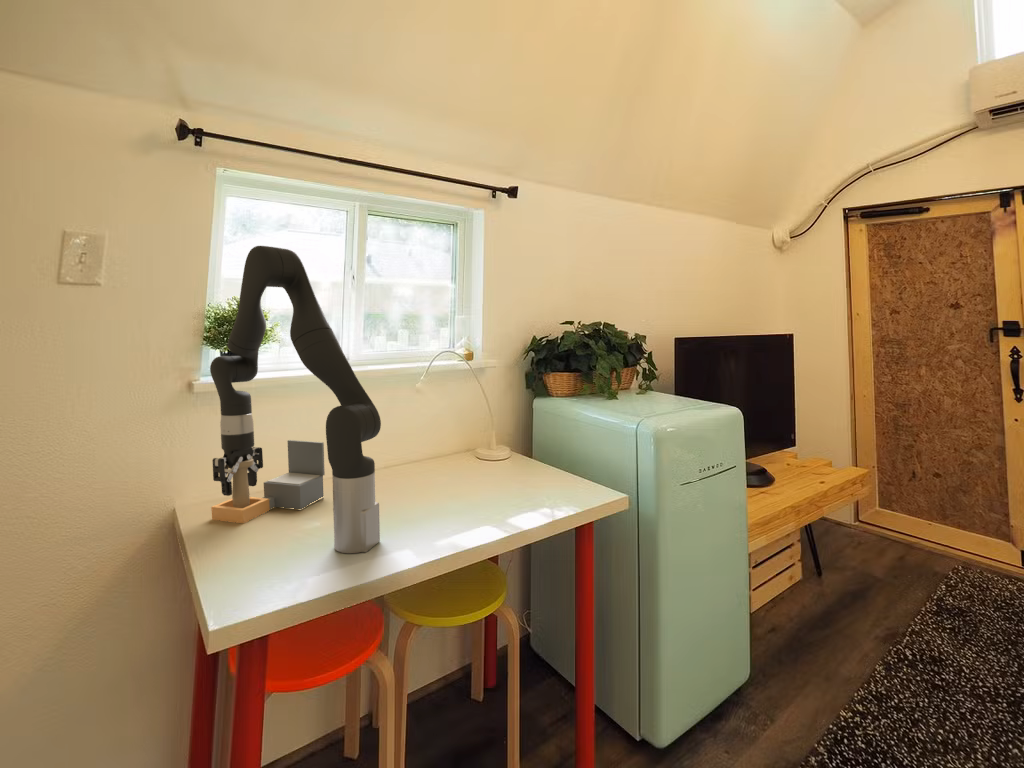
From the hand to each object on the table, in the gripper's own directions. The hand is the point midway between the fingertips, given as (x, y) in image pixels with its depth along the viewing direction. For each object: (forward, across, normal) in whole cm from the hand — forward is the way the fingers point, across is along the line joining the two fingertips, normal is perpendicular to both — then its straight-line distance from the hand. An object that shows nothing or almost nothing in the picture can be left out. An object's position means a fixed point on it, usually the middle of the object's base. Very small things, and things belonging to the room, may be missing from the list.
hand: (240, 490), depth 121 cm
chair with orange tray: (+7, +7, -4) cm, 10 cm away
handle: (+7, 0, 0) cm, 7 cm away
